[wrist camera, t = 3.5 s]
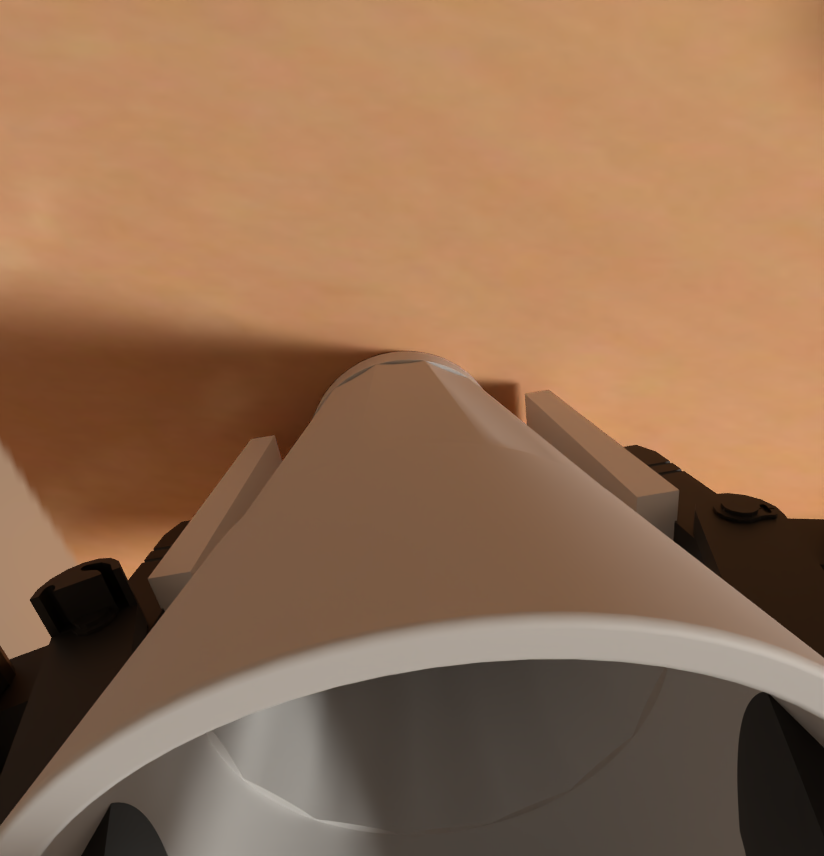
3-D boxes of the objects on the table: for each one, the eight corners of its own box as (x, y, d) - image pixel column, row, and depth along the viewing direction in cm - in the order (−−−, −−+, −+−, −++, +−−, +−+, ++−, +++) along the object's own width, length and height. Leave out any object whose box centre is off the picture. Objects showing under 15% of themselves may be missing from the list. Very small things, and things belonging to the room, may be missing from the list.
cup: (293, 545, 16) (89, 1198, 5) (276, 321, 13) (-290, 639, 2) (509, 542, 17) (771, 1122, 5) (536, 326, 14) (1188, 603, 3)
